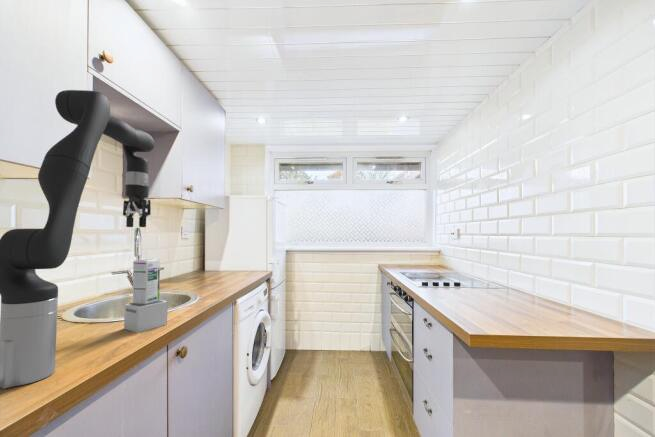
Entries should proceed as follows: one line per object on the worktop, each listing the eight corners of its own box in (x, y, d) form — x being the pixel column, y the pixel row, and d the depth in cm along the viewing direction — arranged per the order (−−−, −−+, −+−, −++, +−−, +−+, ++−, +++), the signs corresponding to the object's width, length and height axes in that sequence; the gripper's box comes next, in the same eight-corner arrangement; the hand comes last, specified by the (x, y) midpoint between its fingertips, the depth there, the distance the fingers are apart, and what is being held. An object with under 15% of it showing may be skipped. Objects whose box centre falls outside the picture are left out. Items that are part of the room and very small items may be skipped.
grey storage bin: (137, 332, 98) (137, 306, 98) (123, 328, 102) (124, 303, 102) (167, 324, 107) (168, 300, 107) (154, 320, 111) (154, 297, 111)
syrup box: (146, 304, 101) (147, 260, 102) (131, 303, 102) (133, 260, 103) (159, 300, 107) (160, 259, 107) (145, 299, 108) (146, 258, 109)
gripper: (116, 184, 117) (115, 227, 116) (137, 182, 110) (136, 227, 110) (136, 187, 124) (135, 227, 123) (157, 185, 117) (156, 227, 116)
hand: (136, 227), depth 116 cm, fingers open, 8 cm apart
